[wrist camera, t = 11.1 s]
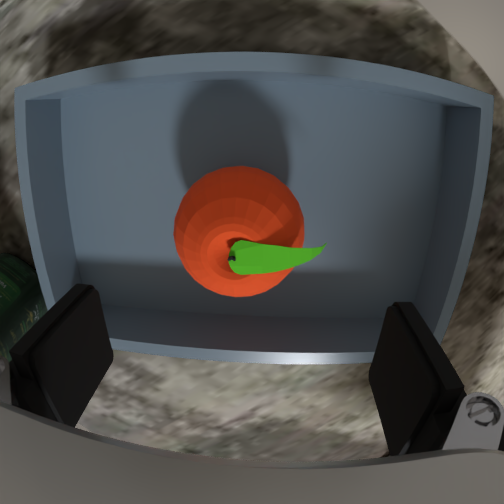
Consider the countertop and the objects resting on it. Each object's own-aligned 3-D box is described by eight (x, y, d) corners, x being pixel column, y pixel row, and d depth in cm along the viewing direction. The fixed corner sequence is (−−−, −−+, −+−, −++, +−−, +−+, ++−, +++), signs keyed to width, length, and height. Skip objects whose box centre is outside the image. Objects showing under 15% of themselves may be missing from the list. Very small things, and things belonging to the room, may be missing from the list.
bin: (452, 95, 17) (493, 95, 13) (412, 319, 24) (434, 357, 20) (57, 88, 18) (14, 88, 14) (84, 305, 25) (57, 339, 21)
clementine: (320, 161, 19) (347, 186, 12) (309, 265, 22) (326, 329, 15) (188, 156, 19) (149, 178, 13) (191, 259, 22) (162, 320, 15)
